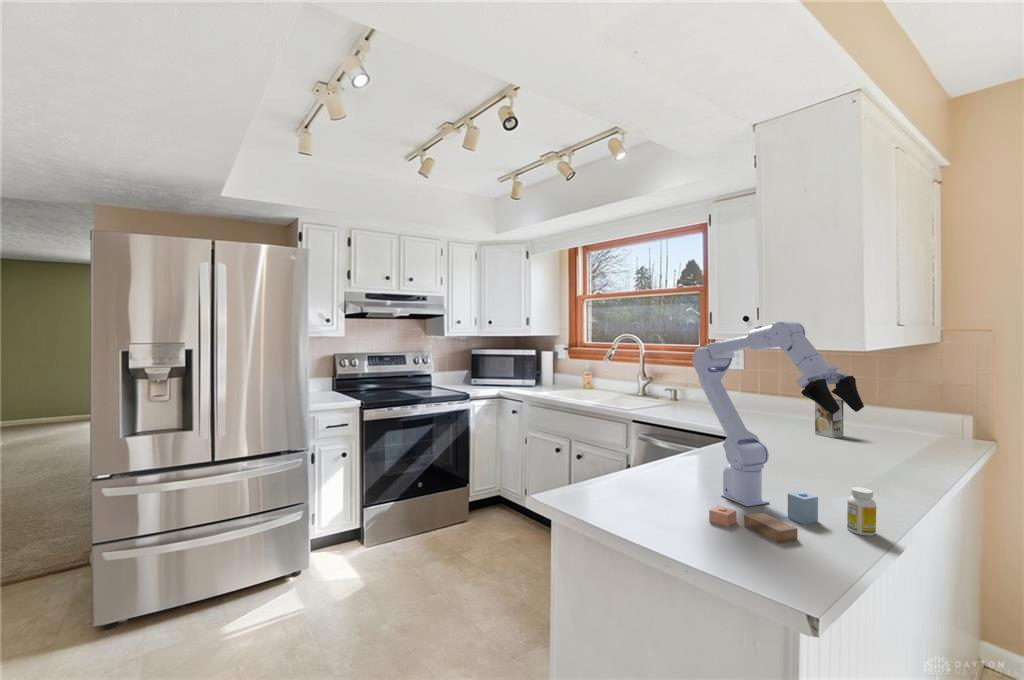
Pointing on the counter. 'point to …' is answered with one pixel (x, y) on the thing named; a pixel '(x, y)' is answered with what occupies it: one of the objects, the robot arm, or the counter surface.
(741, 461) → the robot arm
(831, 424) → the coffee box
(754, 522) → the base brick
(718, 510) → the brick
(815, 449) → the counter surface
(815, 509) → the blue brick
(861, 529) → the supplement bottle
